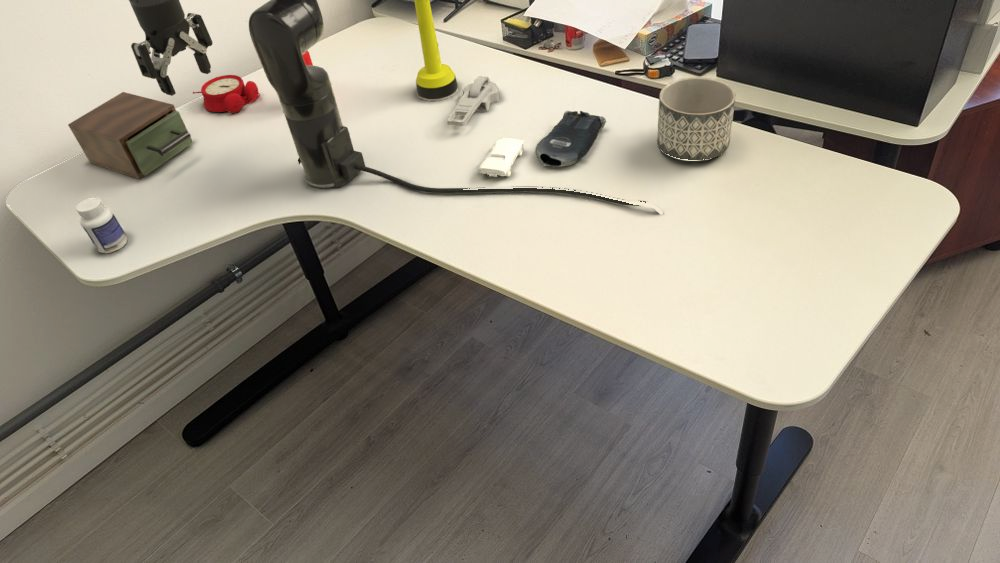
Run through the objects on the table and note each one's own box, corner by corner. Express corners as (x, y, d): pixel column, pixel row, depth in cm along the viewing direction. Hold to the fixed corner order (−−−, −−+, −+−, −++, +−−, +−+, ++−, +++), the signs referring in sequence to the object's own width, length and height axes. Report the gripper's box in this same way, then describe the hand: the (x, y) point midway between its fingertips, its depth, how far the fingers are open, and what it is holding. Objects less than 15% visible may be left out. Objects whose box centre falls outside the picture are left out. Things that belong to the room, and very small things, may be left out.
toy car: (527, 146, 137) (526, 131, 135) (506, 183, 129) (504, 168, 127) (500, 144, 139) (498, 128, 136) (477, 180, 131) (475, 164, 128)
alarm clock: (218, 71, 166) (260, 66, 158) (232, 96, 170) (274, 93, 161) (184, 93, 160) (226, 89, 152) (200, 118, 163) (241, 116, 155)
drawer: (209, 147, 147) (195, 115, 142) (162, 180, 140) (145, 148, 135) (146, 129, 155) (131, 99, 150) (99, 160, 148) (81, 129, 143)
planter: (722, 171, 125) (729, 118, 118) (649, 161, 129) (651, 110, 122) (733, 132, 133) (740, 80, 126) (665, 124, 138) (668, 74, 130)
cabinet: (191, 143, 151) (173, 104, 145) (139, 179, 143) (118, 139, 137) (142, 129, 157) (122, 91, 151) (90, 163, 149) (67, 124, 143)
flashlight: (425, -17, 135) (448, -35, 141) (385, -20, 138) (408, -38, 144) (445, 103, 152) (465, 83, 158) (409, 98, 155) (429, 78, 161)
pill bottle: (134, 235, 129) (110, 195, 123) (117, 254, 126) (92, 214, 119) (108, 234, 130) (83, 194, 124) (91, 253, 127) (65, 213, 121)
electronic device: (559, 129, 143) (526, 161, 132) (563, 103, 139) (530, 134, 129) (603, 143, 140) (573, 177, 129) (608, 117, 136) (578, 149, 126)
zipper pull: (438, 133, 144) (435, 114, 141) (470, 88, 156) (467, 70, 153) (475, 137, 141) (472, 118, 138) (505, 91, 153) (503, 72, 150)
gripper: (133, 16, 116) (173, 106, 127) (199, -19, 124) (231, 69, 135) (103, 9, 119) (144, 98, 130) (169, -24, 127) (203, 62, 138)
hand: (188, 83), depth 133 cm, fingers open, 8 cm apart
